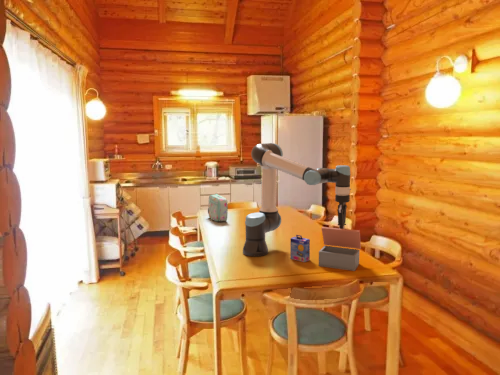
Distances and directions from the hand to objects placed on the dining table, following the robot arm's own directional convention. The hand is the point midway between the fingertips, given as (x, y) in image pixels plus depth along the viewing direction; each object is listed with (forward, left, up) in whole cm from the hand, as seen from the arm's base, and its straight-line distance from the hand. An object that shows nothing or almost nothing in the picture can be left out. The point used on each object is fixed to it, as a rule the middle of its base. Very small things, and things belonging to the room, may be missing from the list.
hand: (341, 236), depth 207 cm
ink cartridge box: (-22, -5, -14) cm, 27 cm away
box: (0, -5, -14) cm, 15 cm away
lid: (0, -2, 0) cm, 2 cm away
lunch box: (-118, +66, -15) cm, 136 cm away
